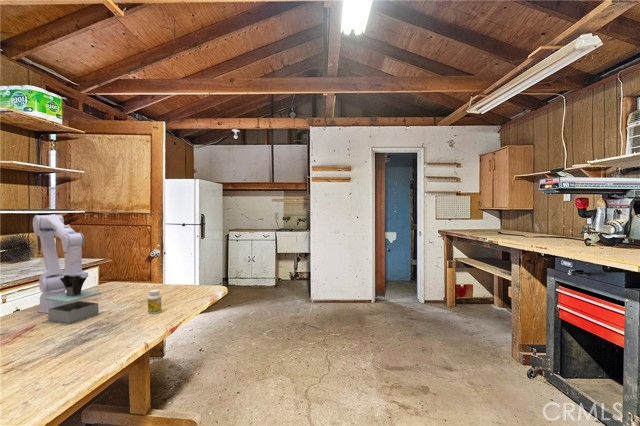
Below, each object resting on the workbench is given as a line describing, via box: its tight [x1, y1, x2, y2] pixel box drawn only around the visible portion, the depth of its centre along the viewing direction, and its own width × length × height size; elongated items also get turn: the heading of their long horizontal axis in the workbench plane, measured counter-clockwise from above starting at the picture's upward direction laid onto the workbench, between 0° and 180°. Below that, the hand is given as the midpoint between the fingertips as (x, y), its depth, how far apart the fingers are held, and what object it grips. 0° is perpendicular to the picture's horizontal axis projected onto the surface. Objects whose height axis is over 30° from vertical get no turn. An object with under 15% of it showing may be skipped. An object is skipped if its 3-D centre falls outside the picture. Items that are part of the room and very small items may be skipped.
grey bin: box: [47, 300, 99, 325], centre depth 132 cm, size 12×12×5 cm
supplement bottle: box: [147, 289, 162, 315], centre depth 139 cm, size 5×5×10 cm
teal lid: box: [45, 286, 102, 304], centre depth 132 cm, size 14×14×4 cm
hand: (73, 293), depth 132 cm, fingers closed on teal lid, 3 cm apart
